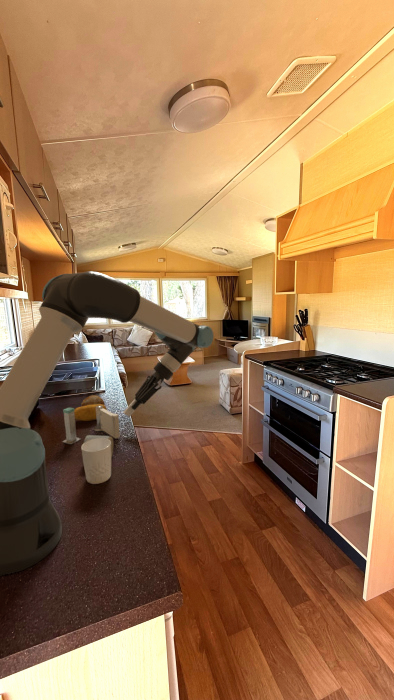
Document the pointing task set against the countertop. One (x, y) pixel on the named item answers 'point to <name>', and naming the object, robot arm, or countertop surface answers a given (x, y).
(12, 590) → the countertop surface
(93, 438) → the ceramic mug
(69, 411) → the gate posts
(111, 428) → the gate
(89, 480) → the white cup
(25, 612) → the countertop surface
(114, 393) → the countertop surface
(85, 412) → the potato
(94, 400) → the bread roll
